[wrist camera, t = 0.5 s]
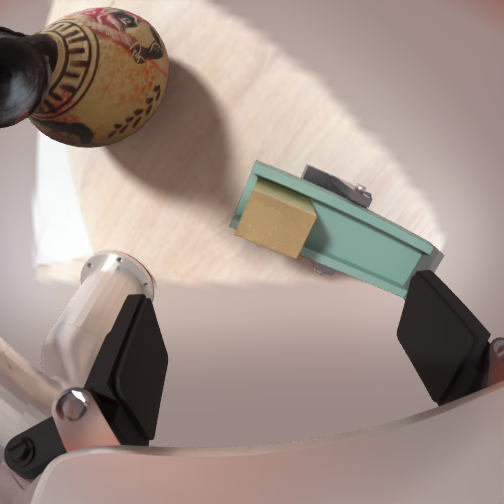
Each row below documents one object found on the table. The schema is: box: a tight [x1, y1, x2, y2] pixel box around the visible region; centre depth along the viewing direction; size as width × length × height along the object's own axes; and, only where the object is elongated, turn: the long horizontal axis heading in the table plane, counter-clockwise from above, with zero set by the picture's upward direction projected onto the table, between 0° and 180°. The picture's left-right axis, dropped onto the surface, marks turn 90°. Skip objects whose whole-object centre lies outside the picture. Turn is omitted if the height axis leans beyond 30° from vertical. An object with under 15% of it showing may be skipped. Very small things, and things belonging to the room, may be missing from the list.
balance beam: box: [229, 160, 444, 300], centre depth 32 cm, size 7×24×4 cm, turn 69°
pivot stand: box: [301, 164, 372, 275], centre depth 37 cm, size 12×10×8 cm
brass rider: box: [235, 177, 317, 259], centre depth 30 cm, size 4×6×7 cm
